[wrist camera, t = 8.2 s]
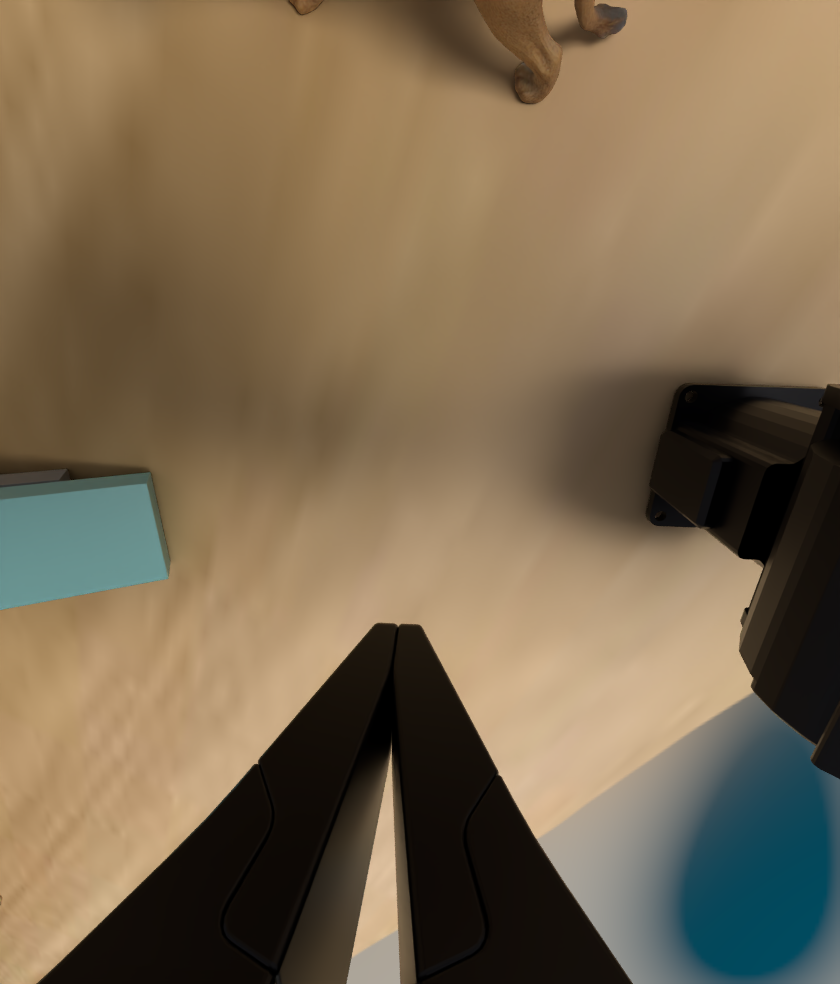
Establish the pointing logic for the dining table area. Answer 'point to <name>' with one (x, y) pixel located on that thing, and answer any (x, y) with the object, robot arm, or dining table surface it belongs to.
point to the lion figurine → (531, 36)
